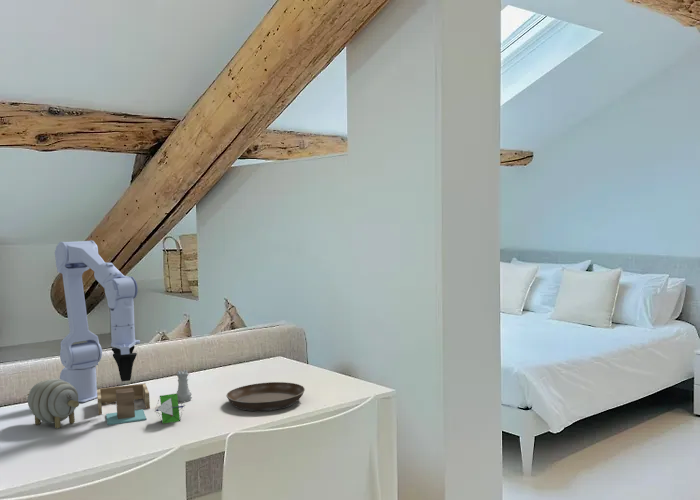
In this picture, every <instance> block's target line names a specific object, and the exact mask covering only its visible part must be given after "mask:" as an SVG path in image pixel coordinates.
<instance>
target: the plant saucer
mask: <svg viewBox="0 0 700 500" xmlns="http://www.w3.org/2000/svg"><path fill="white" fill-rule="evenodd" d="M305 390H306V388H305V386H303V385H301V384H298V383H294V382H283V381H280V382H279V381H278V382H277V381H276V382H275V381H273V382H272V381H270V382H260V383H253V384H248V385H247V384H246V385H242V386H239V387H237V388H234V389H232V390H230V391H228V392H227V393H226V398H227V400H228V401H229V402H230V403H231V404H232V405H233V406H234V407H235V408H238V409H240V410H242V411H243V410H245V411H249V412H250V411H251V412H267V411H268V412H269V411H275V410H281V409H284V408H285V409H286V408H288V407H290V406H293V405H294V404H296V403H297V402H298V401H299V400H300V399H301V398H302V396H303V394H304V393H305Z"/></svg>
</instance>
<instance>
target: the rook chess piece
mask: <svg viewBox="0 0 700 500" xmlns="http://www.w3.org/2000/svg"><path fill="white" fill-rule="evenodd" d="M189 375H190V374H189V373H188V370H185V369H183V370H181V369H180V370H178V371H177V374H176V376H177V378H178V379H177V382H178V384H177V391H176V393H175V394H178V395H179V396H178V395H177V397H179V398H178V403H180V402H181V403H185V402H184V401H187V402H190V401H192V399H193V397H192V391H191V390H190V388H189V383H188V381H189V378H188V377H189ZM180 398H181V399H180ZM179 399H180V400H179ZM189 400H190V401H189Z"/></svg>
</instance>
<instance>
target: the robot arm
mask: <svg viewBox="0 0 700 500" xmlns="http://www.w3.org/2000/svg"><path fill="white" fill-rule="evenodd" d="M54 259H55V267H56V271H57V273H59V274H62V282H63V288H64V290H63V291H64V297H65V306H66V313H67V321H68V322H67V323H68V330H69V333H67V335H66V336H64V338H63V339H62V340H61V341H60V351H59V357H60V362H61V364H62V366H63V368H62V370H61V372H60V375H59V379H61V380H63V381H66V382H68V383H69V384H71V385H72V386H73V387H74V388H75V389H76V390H77V393H78V402H79V403H85V402H90V401H91V400H94V399H95V400H96V399H97V389H98V387H97V366H99V362H101V360H102V357H103V347H102V346H101V344H100V340H99V336H98V334H95V333H94V332H92V331H91V330H89V328H90V327H89V323H88V313H87V305H86V299H85V292H84V281H83V274H85V273H84V272H87V271H88V270H90V269H91V270H92V271H93V272H94V273H93V276H94V279H95V281H97V282H98V283H99V284H100V286H101V287H103V289H104V293H105V294H104V295H105V298H106V300H107V307H108V308H109V310H110V311H109V312H110V332H111V342H110V346H111V351H112V352H113V353H112V358H113V359H114V361H115V362H116V365H117V367H118V368H117V369H118V372H119V377H120V380H121V382H130V381H131V379H132V375H133V373H132V371H133V365H134V362H135V360H136V357H137V355H138V353H137V352H134V350H135V348H136V347H135V345H140V344H141V340H140V339H136V328H135V306H134V305H135V303H134V301H135V300H134V299H136V298H137V296H138V290H139V289H138V288H139V287H138V283H137V281H136V279H135V278H134V276H133V275H132V276H131V275H129V276H128V275H124V274H123V273H122V272H121V271H120V270H119V269H118V268H117V267H116V266H115V265H114V263H113V262H106V261H104V259H103V257H101V255H100V254H99V248H98V245H97V244H96V242H95V240H93V239H92V240H91V239H90V240H80V241H78V240H77V241H59V242H58V243H57V245H56V246H55V250H54ZM78 342H79V343H78ZM74 343H75V344H74Z"/></svg>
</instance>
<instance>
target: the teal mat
mask: <svg viewBox="0 0 700 500" xmlns="http://www.w3.org/2000/svg"><path fill="white" fill-rule="evenodd" d="M105 414H106V415H105V416H106V423H107V426H110V425H118V424H126V423H132V422H141V421H147V417H146V414H145V411H144V408H142V409H135V417H131V418H124V419H118V417H117V411H116V412H109V413H105Z"/></svg>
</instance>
